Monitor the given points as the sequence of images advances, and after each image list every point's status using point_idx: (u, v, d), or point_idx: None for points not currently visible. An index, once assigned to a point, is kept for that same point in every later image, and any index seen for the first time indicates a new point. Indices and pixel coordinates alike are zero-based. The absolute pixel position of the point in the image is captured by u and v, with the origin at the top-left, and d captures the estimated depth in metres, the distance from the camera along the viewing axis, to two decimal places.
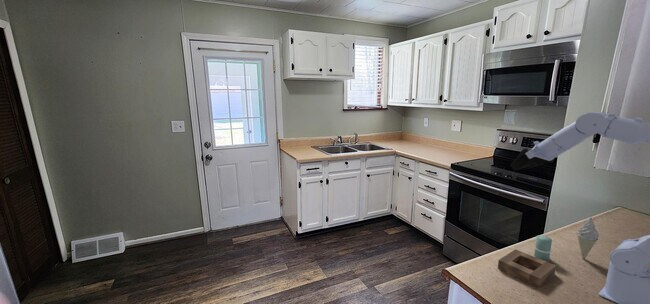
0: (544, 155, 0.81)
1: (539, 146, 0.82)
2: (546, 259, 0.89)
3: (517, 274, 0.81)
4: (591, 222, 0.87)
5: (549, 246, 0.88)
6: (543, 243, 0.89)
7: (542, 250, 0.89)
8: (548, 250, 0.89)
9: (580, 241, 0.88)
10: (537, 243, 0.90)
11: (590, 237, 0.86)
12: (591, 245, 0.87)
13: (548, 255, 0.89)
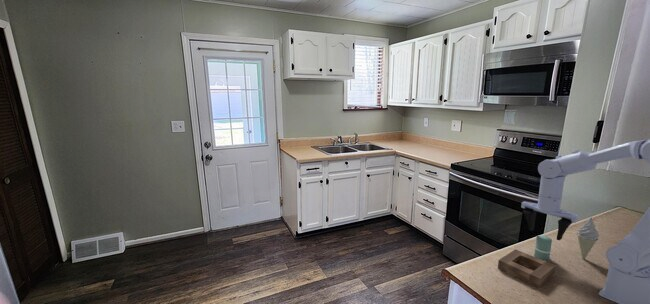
0: (537, 206, 0.89)
1: None
2: (546, 259, 0.89)
3: (517, 274, 0.81)
4: (591, 222, 0.87)
5: (549, 246, 0.88)
6: (543, 243, 0.89)
7: (542, 250, 0.89)
8: (548, 250, 0.89)
9: (580, 241, 0.88)
10: (537, 243, 0.90)
11: (590, 237, 0.86)
12: (591, 245, 0.87)
13: (548, 255, 0.89)
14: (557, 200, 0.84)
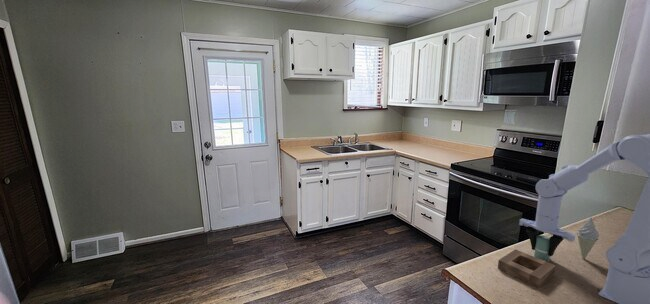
0: (534, 224, 0.91)
1: None
2: (546, 259, 0.89)
3: (517, 274, 0.81)
4: (591, 222, 0.87)
5: (549, 246, 0.88)
6: (543, 243, 0.89)
7: (542, 250, 0.89)
8: (548, 250, 0.89)
9: (580, 241, 0.88)
10: (537, 243, 0.90)
11: (590, 237, 0.86)
12: (591, 245, 0.87)
13: None
14: (554, 219, 0.86)
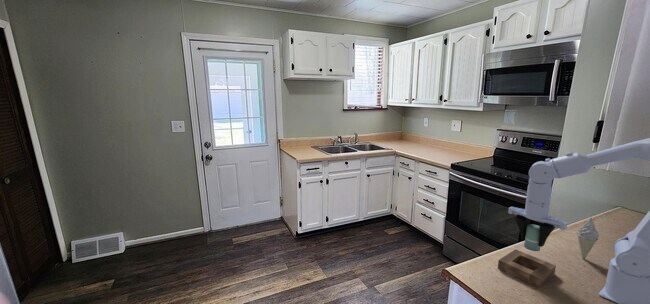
0: (524, 212, 0.84)
1: None
2: (536, 250, 0.82)
3: (517, 274, 0.81)
4: (591, 222, 0.87)
5: None
6: (533, 232, 0.82)
7: (532, 240, 0.82)
8: None
9: (580, 241, 0.88)
10: (527, 232, 0.84)
11: (590, 237, 0.86)
12: (591, 245, 0.87)
13: None
14: (545, 206, 0.79)
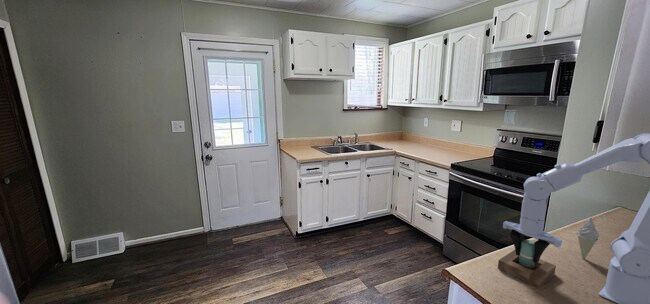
0: (519, 228, 0.83)
1: None
2: (531, 266, 0.82)
3: (517, 274, 0.81)
4: (591, 222, 0.87)
5: (534, 251, 0.81)
6: (528, 248, 0.81)
7: (527, 256, 0.82)
8: (533, 256, 0.81)
9: (580, 241, 0.88)
10: (522, 248, 0.83)
11: (590, 237, 0.86)
12: (591, 245, 0.87)
13: None
14: (539, 222, 0.78)
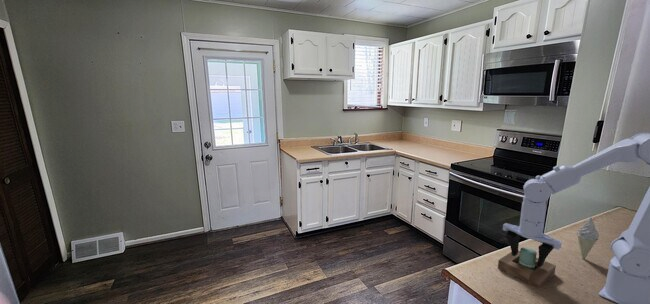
0: (518, 230, 0.83)
1: None
2: None
3: (517, 274, 0.81)
4: (591, 222, 0.87)
5: (533, 260, 0.81)
6: (527, 256, 0.81)
7: (526, 264, 0.82)
8: (532, 264, 0.81)
9: (580, 241, 0.88)
10: (521, 256, 0.83)
11: (590, 237, 0.86)
12: (591, 245, 0.87)
13: (532, 269, 0.82)
14: (539, 225, 0.78)
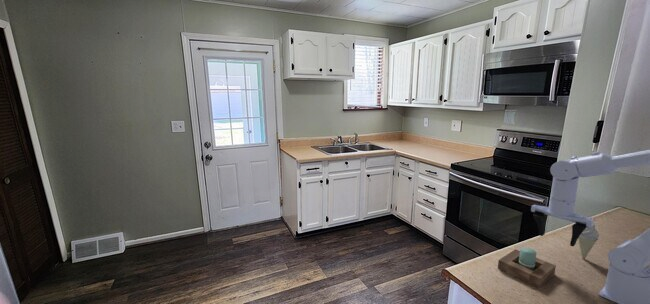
0: (548, 210, 0.84)
1: None
2: None
3: (517, 274, 0.81)
4: None
5: (533, 260, 0.81)
6: (527, 256, 0.81)
7: (526, 264, 0.82)
8: (532, 264, 0.81)
9: (580, 241, 0.88)
10: (521, 256, 0.83)
11: (590, 237, 0.86)
12: (591, 245, 0.87)
13: (532, 269, 0.82)
14: (571, 203, 0.79)
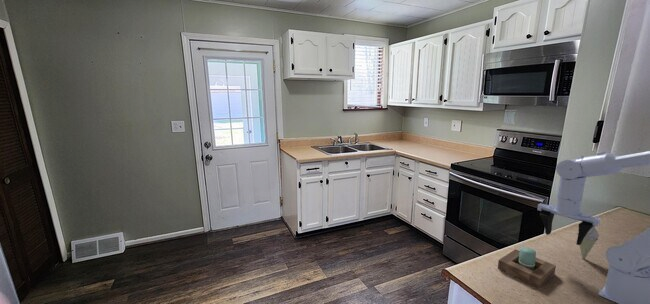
0: (555, 209, 0.84)
1: None
2: None
3: (517, 274, 0.81)
4: None
5: (533, 259, 0.81)
6: (527, 256, 0.82)
7: (526, 264, 0.82)
8: (532, 263, 0.82)
9: None
10: (520, 256, 0.83)
11: (590, 237, 0.86)
12: (591, 245, 0.87)
13: (532, 269, 0.82)
14: (577, 202, 0.79)
